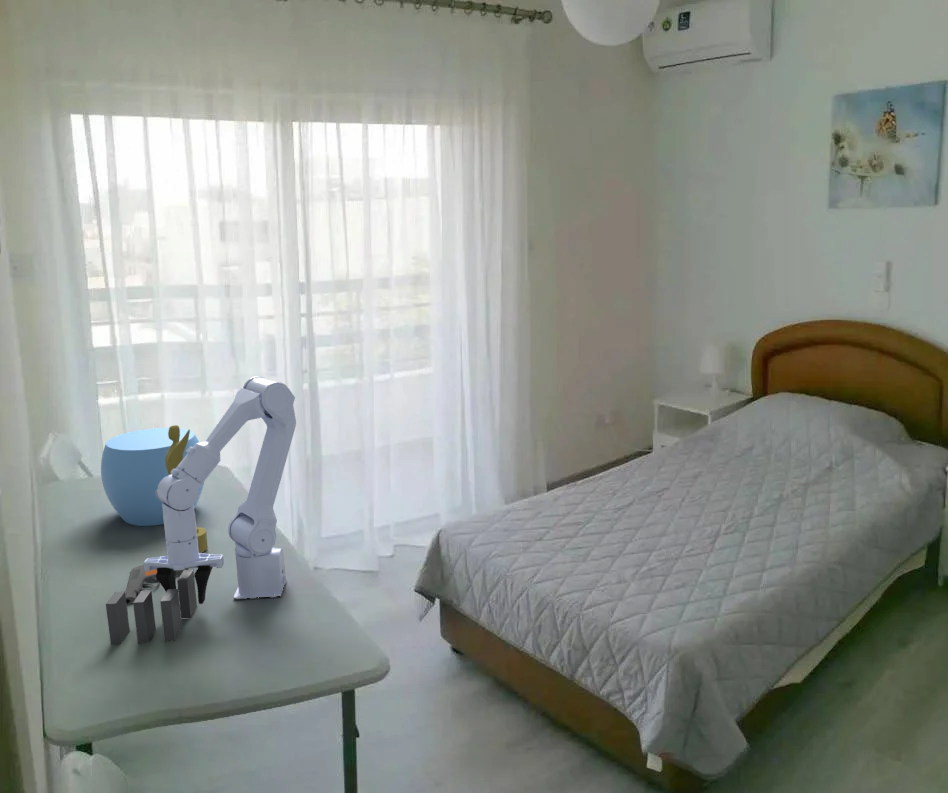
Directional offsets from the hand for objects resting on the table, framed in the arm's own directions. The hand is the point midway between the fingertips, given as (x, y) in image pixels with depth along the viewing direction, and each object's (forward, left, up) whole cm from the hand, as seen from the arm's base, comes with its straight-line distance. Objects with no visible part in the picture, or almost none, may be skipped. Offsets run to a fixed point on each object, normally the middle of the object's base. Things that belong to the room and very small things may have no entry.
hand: (188, 602), depth 162 cm
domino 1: (+6, +8, -2) cm, 10 cm away
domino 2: (+1, +8, -2) cm, 9 cm away
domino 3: (0, 0, -2) cm, 2 cm away
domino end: (+10, +8, -2) cm, 14 cm away
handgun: (+10, -14, -3) cm, 18 cm away
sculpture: (+8, -32, -2) cm, 32 cm away
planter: (+22, -58, -2) cm, 62 cm away
